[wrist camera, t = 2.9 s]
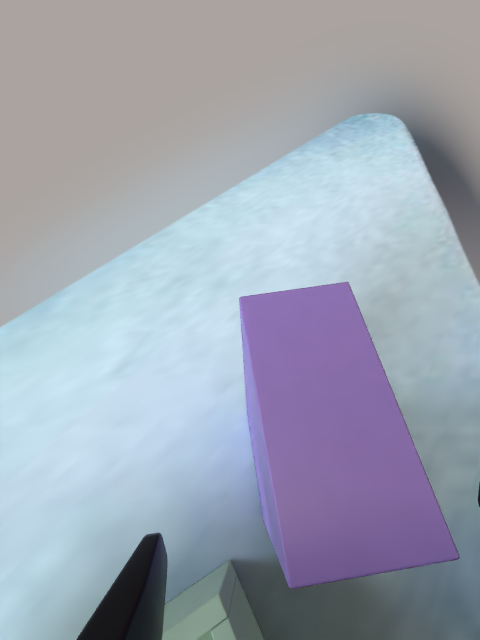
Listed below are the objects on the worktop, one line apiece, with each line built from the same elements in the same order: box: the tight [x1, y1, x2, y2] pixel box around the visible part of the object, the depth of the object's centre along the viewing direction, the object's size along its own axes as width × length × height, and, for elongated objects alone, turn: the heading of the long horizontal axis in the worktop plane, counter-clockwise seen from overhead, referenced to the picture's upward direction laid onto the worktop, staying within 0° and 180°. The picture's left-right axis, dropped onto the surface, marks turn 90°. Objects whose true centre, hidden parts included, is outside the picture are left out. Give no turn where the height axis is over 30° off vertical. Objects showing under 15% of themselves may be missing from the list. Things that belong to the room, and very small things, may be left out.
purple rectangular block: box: [239, 282, 459, 589], centre depth 12 cm, size 6×3×13 cm, turn 8°
